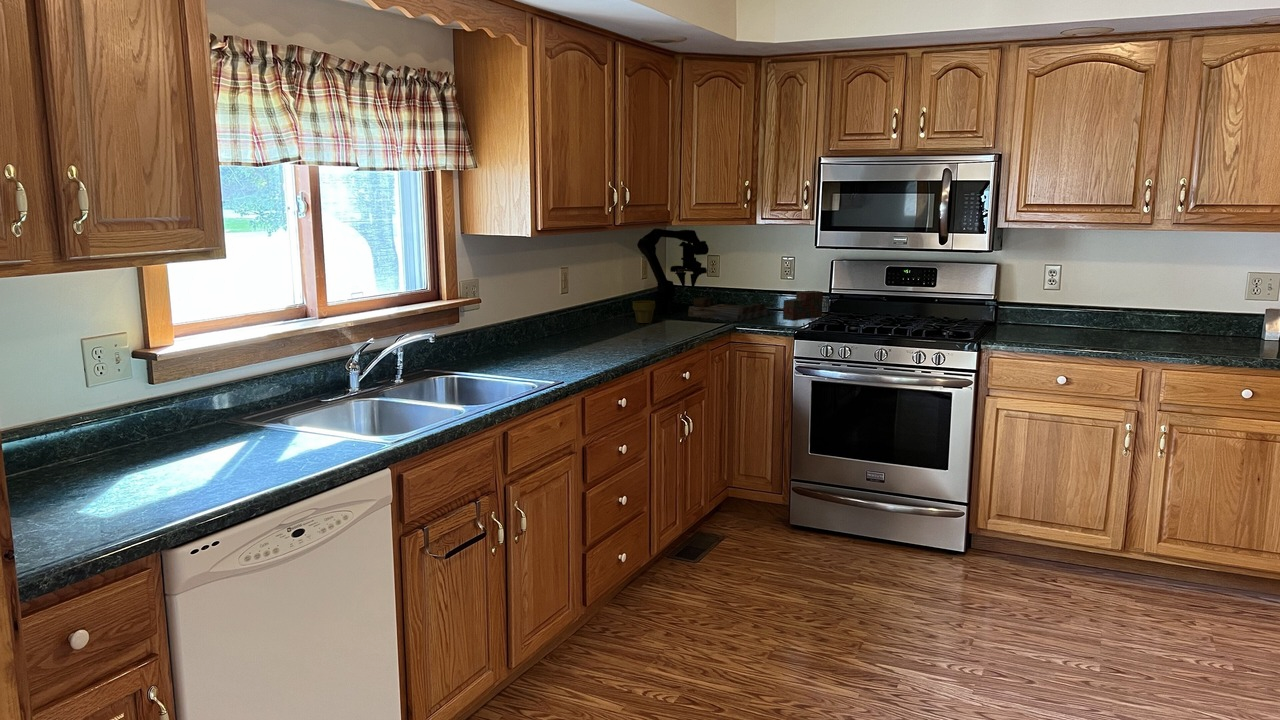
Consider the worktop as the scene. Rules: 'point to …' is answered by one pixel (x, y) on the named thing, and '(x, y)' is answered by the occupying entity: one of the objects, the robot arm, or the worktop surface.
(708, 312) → the trap deck
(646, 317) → the plant pot
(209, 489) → the worktop surface
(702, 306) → the walnut block
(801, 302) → the stack of blocks
